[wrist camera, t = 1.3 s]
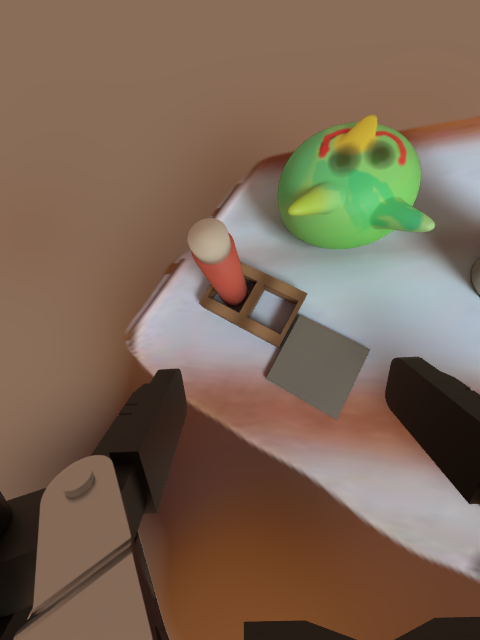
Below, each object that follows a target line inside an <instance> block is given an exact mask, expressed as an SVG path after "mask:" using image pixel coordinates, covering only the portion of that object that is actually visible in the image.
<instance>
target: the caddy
mask: <svg viewBox="0 0 480 640" xmlns="http://www.w3.org/2000/svg"><path fill="white" fill-rule="evenodd" d="M240 264H241V268H242V271H243V275H244V278H245V281H247V282H250V283H252V284H254V285H255V286H254V288H253V290H252V292H251V293H250V295H249V297H248V299H247V300H246V302H245V304H244V306H243V307H242V309H241V311H240V313H238V312H236V311H234V310H232V309H230V308H229V307H227V306H225V305H223V304H221V303H219V302H217V301H215V300H213V298H214V296H215V295H216V293H217V292H216V290H215V289H214V287H213V286H212V284H211V285H210V287H209V288H208V290H207V292H206V293H205V295H204V297H203V298H202V300H201V302H200V303H199V304H200V305H201V306H203V307H204V308H205V309H207V310H209V311H211V312H213V313H215V314H216V315H218V316H220V317H222V318H224V319H226V320H228V321H229V322H231V323H233V324H235V325H237V326H239V327H240V328H242V329H244V330H246V331H248V332H250V333H252V334H253V335H255V336H257V337H259V338H261V339H263V340H265V341H266V342H268V343H270V344H272V345H274V346H276V347H278V348H279V346H280V344H281V343H282V341H283V339H284V337H285V335H286V333H287V331H288V329H289V328H290V326H291V324H292V322H293V320H294V318H295V316H296V314H297V313H298V311H299V309H300V307H301V305H302V303H303V301H304V300H305V297H306V295H307V293H305V292H303V291H301V290H299V289H297V288H295V287H292V286H290V285H288V284H286V283H284V282H282V281H280V280H277V279H275V278H273V277H271V276H269V275H267V274H265V273H262V272H260V271H258V270H256V269H254V268H252V267H250V266H247V265H245V264H243V263H241V262H240ZM264 290H266V291H268V292H270V293H272V294H274V295H276V296H278V297H281V298H283V299H285V300H287V301H289V302H291V303H293V304H295V305H296V307H295V309H294V311H293V312H292V314H291V316H290V318H289V320H288V322H287V324H286V325H285V327H284V329H283V331H282V333H281V335H280V334H278V333H276V332H274V331H272V330H271V329H269V328H267V327H265V326H263V325H261V324H259V323H257V322H255V321H253V320H251V319H250V318H249V317H250V315H251V313H252V312H253V310H254V308H255V306H256V305H257V303H258V301H259V299H260V297H261V296H262V294H263V292H264Z"/></svg>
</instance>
